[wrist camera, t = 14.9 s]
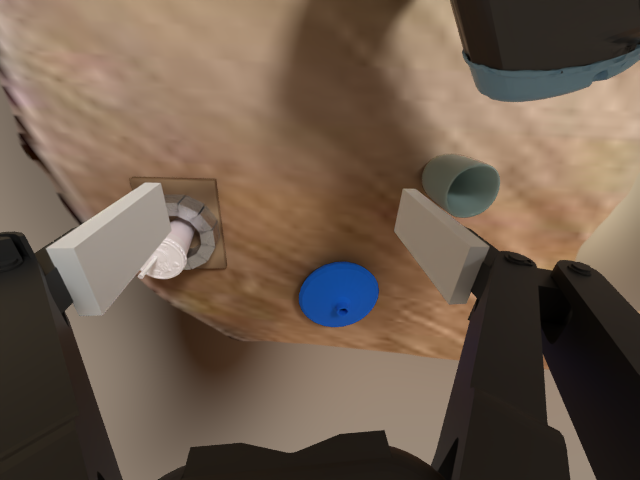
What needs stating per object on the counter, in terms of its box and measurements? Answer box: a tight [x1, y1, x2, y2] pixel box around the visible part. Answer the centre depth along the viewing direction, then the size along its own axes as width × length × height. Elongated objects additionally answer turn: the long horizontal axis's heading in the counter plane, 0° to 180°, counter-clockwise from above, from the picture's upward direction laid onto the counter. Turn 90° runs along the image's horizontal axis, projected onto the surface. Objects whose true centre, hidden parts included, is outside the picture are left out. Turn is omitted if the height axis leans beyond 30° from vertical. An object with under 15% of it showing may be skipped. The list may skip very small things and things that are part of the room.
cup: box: [422, 154, 500, 218], centre depth 41 cm, size 8×8×10 cm
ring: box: [164, 194, 220, 270], centre depth 43 cm, size 12×12×4 cm
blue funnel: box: [299, 262, 379, 327], centre depth 52 cm, size 16×16×7 cm
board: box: [129, 177, 227, 269], centre depth 45 cm, size 16×12×1 cm
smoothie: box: [138, 218, 195, 279], centre depth 38 cm, size 6×6×14 cm
